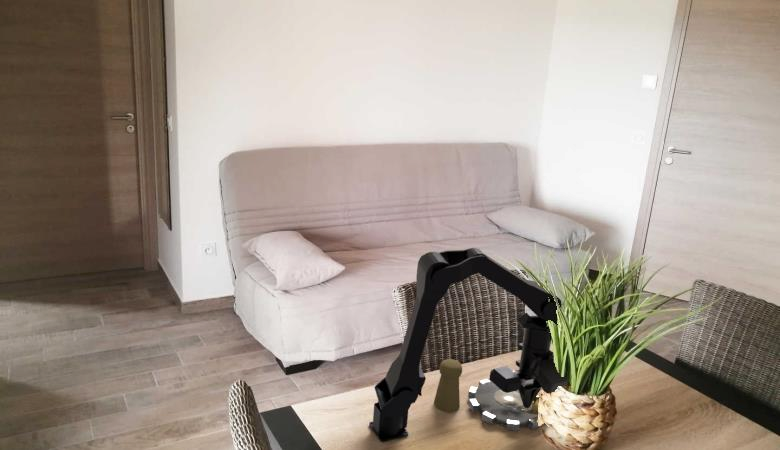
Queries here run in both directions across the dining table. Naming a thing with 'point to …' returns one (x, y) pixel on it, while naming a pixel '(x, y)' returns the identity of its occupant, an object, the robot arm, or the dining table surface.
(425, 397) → the dining table surface
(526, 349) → the robot arm
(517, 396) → the sprocket
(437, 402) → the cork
